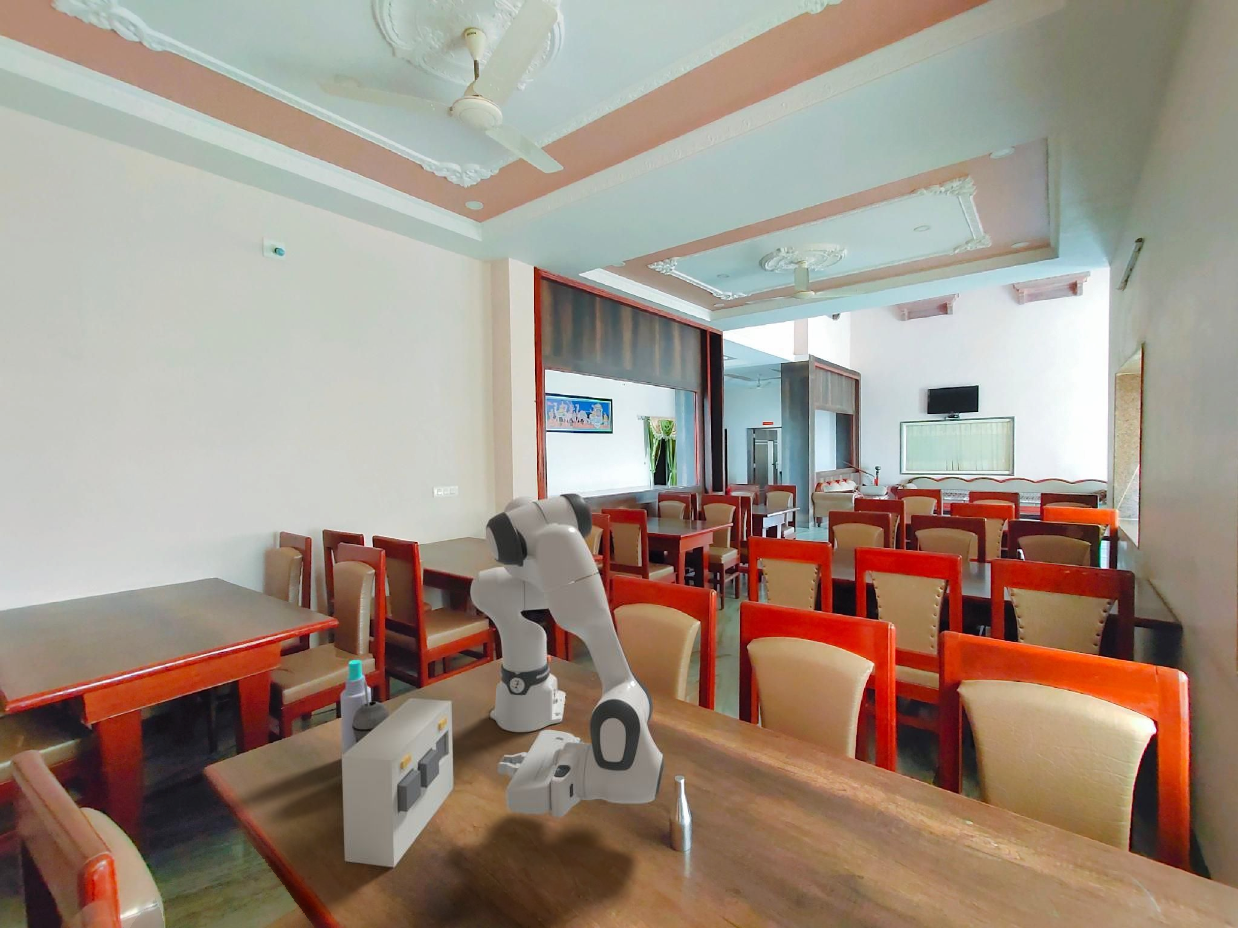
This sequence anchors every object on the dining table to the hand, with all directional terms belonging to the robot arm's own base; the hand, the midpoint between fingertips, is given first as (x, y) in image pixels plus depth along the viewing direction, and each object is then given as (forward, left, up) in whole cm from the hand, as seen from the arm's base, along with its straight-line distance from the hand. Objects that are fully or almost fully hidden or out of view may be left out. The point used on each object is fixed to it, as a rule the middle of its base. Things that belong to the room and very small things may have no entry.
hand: (500, 763), depth 101 cm
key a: (+10, -14, -2) cm, 17 cm away
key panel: (+3, -18, -11) cm, 21 cm away
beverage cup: (-9, -32, -11) cm, 35 cm away
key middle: (+3, -14, -2) cm, 14 cm away
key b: (-3, -16, -2) cm, 16 cm away
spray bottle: (-14, -39, -11) cm, 43 cm away
